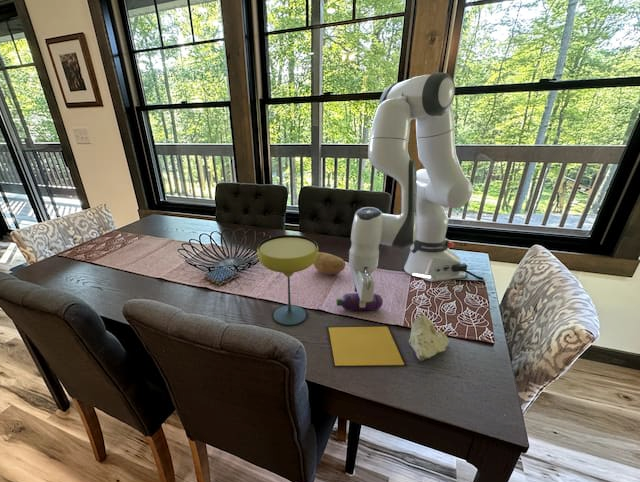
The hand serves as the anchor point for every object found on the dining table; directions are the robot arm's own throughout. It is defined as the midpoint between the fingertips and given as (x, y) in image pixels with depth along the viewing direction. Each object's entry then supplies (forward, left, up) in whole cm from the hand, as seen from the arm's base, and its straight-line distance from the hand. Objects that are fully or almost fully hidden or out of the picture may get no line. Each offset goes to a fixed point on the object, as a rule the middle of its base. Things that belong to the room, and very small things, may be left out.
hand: (359, 298), depth 103 cm
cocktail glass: (+23, +3, -4) cm, 24 cm away
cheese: (-14, +23, -4) cm, 27 cm away
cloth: (+2, +18, -4) cm, 19 cm away
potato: (+7, -26, -4) cm, 27 cm away
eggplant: (-1, 0, -4) cm, 4 cm away
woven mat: (+51, -24, -4) cm, 57 cm away
